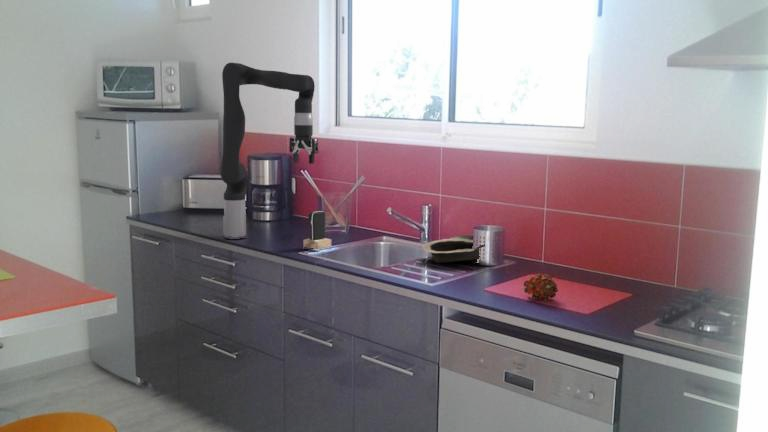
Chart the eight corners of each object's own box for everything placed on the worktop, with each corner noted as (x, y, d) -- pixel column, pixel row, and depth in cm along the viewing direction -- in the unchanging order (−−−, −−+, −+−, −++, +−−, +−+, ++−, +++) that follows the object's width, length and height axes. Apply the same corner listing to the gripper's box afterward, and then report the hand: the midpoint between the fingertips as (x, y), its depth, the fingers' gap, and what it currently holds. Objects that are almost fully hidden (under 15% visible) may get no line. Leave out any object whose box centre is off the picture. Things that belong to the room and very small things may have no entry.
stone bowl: (500, 260, 274) (500, 237, 272) (464, 277, 255) (463, 252, 253) (446, 250, 289) (446, 228, 287) (408, 265, 270) (408, 242, 268)
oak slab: (303, 249, 292) (303, 239, 292) (316, 246, 299) (316, 236, 298) (318, 251, 288) (318, 241, 287) (331, 248, 294) (331, 238, 293)
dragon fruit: (555, 309, 215) (524, 306, 225) (568, 289, 219) (538, 286, 229) (542, 289, 212) (512, 286, 221) (556, 269, 216) (526, 267, 225)
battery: (319, 237, 296) (318, 209, 295) (325, 238, 294) (325, 210, 292) (307, 239, 291) (306, 211, 289) (313, 240, 289) (313, 212, 287)
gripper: (322, 124, 295) (322, 163, 298) (297, 123, 304) (297, 161, 306) (309, 124, 289) (310, 164, 292) (284, 123, 298) (285, 162, 300)
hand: (303, 163), depth 299 cm, fingers open, 8 cm apart
